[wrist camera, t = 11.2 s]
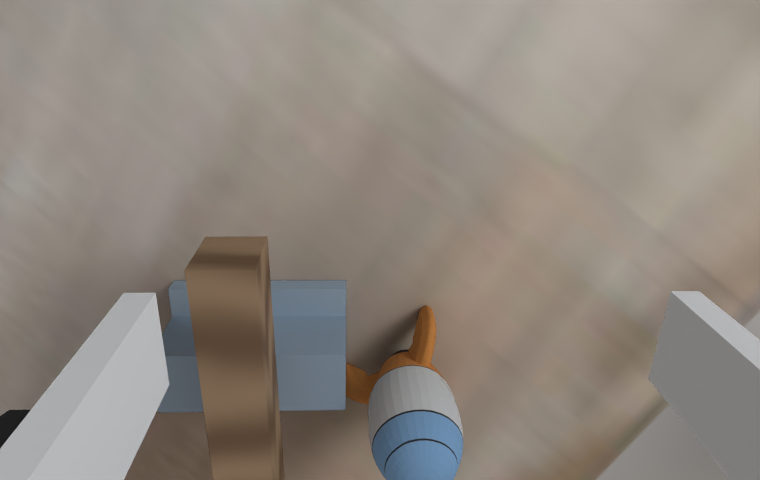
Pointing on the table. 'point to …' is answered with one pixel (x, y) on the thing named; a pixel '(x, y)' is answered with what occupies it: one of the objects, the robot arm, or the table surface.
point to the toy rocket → (411, 411)
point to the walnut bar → (236, 356)
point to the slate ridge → (292, 347)
